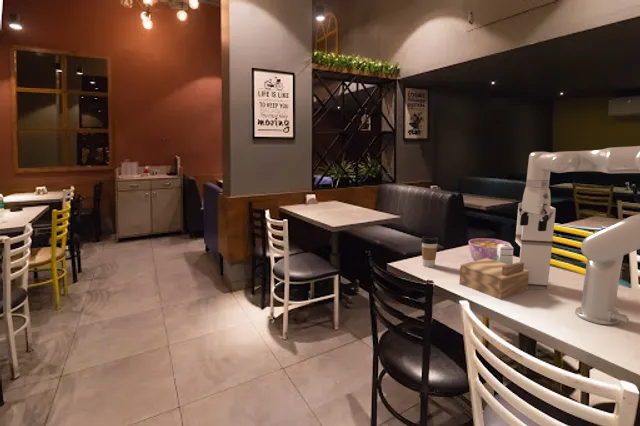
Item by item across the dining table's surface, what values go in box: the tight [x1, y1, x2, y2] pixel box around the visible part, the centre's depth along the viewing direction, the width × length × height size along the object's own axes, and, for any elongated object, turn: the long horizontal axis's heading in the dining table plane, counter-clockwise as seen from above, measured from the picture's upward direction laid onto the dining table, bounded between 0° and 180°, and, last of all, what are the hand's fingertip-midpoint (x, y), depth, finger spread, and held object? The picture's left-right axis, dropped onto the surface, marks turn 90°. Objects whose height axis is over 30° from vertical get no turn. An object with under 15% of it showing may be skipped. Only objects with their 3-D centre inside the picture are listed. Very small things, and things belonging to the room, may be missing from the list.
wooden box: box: [459, 266, 529, 300], centre depth 159 cm, size 20×18×8 cm
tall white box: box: [514, 205, 557, 291], centre depth 160 cm, size 11×11×35 cm
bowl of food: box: [468, 237, 512, 261], centre depth 190 cm, size 20×20×12 cm
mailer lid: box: [460, 258, 529, 280], centre depth 158 cm, size 20×18×4 cm
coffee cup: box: [420, 235, 439, 268], centre depth 189 cm, size 8×8×15 cm
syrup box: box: [497, 244, 514, 265], centre depth 173 cm, size 6×6×14 cm
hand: (532, 228), depth 144 cm, fingers open, 9 cm apart
